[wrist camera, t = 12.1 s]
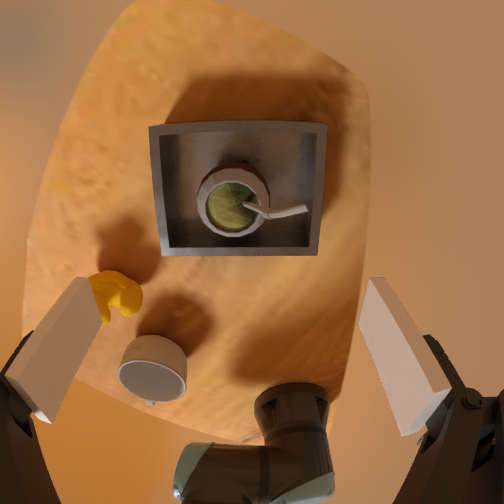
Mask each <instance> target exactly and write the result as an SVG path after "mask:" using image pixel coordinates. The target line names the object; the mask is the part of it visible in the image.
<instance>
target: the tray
mask: <svg viewBox="0 0 504 504" xmlns="http://www.w3.org/2000/svg"><path fill="white" fill-rule="evenodd" d="M149 143H150V157H151V169H152V180H153V190H154V200H155V208H156V217H157V224H158V232H159V239H160V246H161V253H162V256H317V253H318V244H319V235H320V225H321V214H322V203H323V191H324V178H325V163H326V145H327V124H325V123H320V122H313V121H296V120H263V119H240V120H207V121H190V122H177V123H166V124H160V125H154V126H150V127H149ZM243 160H246V161H248V162H249V164H250V165H251V166H253V167H254V168H255V169H256V170H257V171H258V172H259V173H260V174H261V175H262V176H263V177H264V178H265V180H266V183H267V185H268V188H269V190H270V208H273V209H274V210H281V209H287V208H291V207H295V206H299V205H304V204H305V205H306V206H307V208H308V211H307V212H303V213H298V214H294V215H290V216H286V217H280V218H275V219H271V220H270V219H267V218H265V220H264V222H263V223H262V224H261V225H260V226H259V227H258V228H257V229H256V230H254V231H253V232H252V233H249V234H246V235H244V236H241V237H226V236H223V235H221V234H218V233H215V232H213V231H212V230H211V229H210V228H209V227H208V226H207V225H206V224H204V222H203V220H202V218H201V216H200V214H199V212H198V207H197V192H198V189H199V187H200V184H201V181H202V179H203V178H204V177H205V176H206V175H207V174H208V173H209V172H210V171H211V170H212V169H213V168H215V167H217V166H220V165H222V164H224V163H227V162H242V161H243Z"/></svg>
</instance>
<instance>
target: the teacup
mask: <svg viewBox="0 0 504 504" xmlns="http://www.w3.org/2000/svg"><path fill="white" fill-rule="evenodd" d="M117 377H118V379H119V382H120V383H121V385H122V386H123V387H124V388H125V389H126V390H127V391H129V392H130V393H132V394H133V395H135V396H137V397H140V398H142V399H145V400H146V405H148V406H154V405H155V402H171V401H175V400H177V399H179V398H181V397H182V396H183V395H184V394H185V392H186V379H187V359H186V356H185V354H184V352H183V350H182V349H181V348H180V347H179V346H178V345H177V344H176V343H174V342H173V341H171V340H170V339H167V338H165V337H162V336H159V335H143V336H140V337H137V338H136V339H134V340H133V341H132V342H131V343H130V344H129V345H128V347H127V349H126V351H125V353H124V356H123V358H122V361H121V364H120V366H119V368H118V371H117Z"/></svg>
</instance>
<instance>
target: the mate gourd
mask: <svg viewBox="0 0 504 504" xmlns="http://www.w3.org/2000/svg"><path fill="white" fill-rule="evenodd" d="M197 207H198V212H199V214H200V216H201V218H202V220H203V222H204V224H206V225H207V226H208V227H209V228H210V229H211V230H212V231H213V232H215V233H218V234H221V235H223V236H226V237H241V236H244V235H246V234H249V233H252V232H253V231H254V230H256V229H257V228H258V227H259V226H260V225H261V224H262V223H263V222H264V220H265V218H267V219H270V220H271V219H275V218H280V217H286V216H290V215H294V214H298V213H303V212H307V211H308V208H307V206H306V205H305V204H304V205H299V206H295V207H291V208H287V209H281V210H274V209H273V208H270V190H269V188H268V185H267V183H266V180H265V178H264V177H263V176H262V175H261V174H260V173H259V172H258V171H257V170H256V169H255V168H254V167H253V166H251V165H250V164H249V162H248V161H246V160H243V161H242V162H227V163H224V164H222V165H220V166H217V167H215V168H213V169H212V170H211V171H210V172H209V173H208V174H207V175H206V176H205V177H204V178H203V179H202V181H201V184H200V187H199V189H198V192H197Z"/></svg>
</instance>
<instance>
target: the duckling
mask: <svg viewBox="0 0 504 504" xmlns="http://www.w3.org/2000/svg"><path fill="white" fill-rule="evenodd" d="M88 278H89V282H90V285H91V288H92V291H93V295H94V298H95V301H96V304H97V307H98V310H99V312H100V315H101V318H102V321H103V323H102V325H101V327H102V326H104V325H106V324H107V323H109V321H110V319H111V313H110V310H109V308H112V307H119V308H120V311H121V313H122V314H123V315H124V316H132V315H135V314H136V313H137V312H138V311H139V310H140V308H141V305H142V301H143V293H142V289H141V287H140V286H139V284H138V283H136V282H135V281H133V280H132V279H130V278H127V277H126V276H125V275H124V274H122V273H120V272H118V271H111V270H106V271H102V272H101V273H98V274H95V275H92V276H90V277H88Z"/></svg>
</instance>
